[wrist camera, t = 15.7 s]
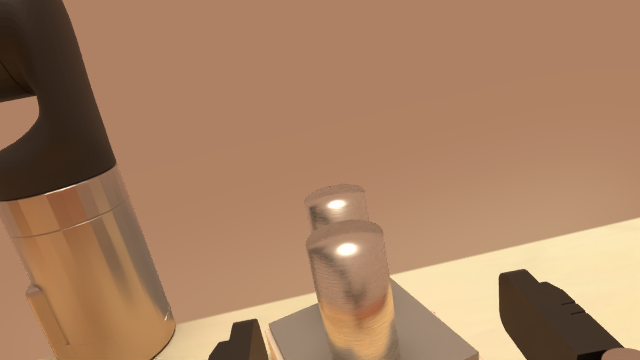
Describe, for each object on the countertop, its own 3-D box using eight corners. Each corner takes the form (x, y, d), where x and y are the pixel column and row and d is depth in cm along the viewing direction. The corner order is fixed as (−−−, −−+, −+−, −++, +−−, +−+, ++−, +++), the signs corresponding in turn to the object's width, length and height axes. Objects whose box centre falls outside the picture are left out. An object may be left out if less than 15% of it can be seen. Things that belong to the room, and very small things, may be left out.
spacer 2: (354, 416, 23) (324, 268, 20) (324, 365, 27) (295, 236, 24) (417, 382, 24) (398, 239, 21) (380, 339, 28) (359, 213, 25)
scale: (328, 487, 23) (318, 446, 22) (271, 354, 33) (262, 323, 32) (496, 388, 27) (494, 349, 25) (396, 298, 37) (392, 268, 36)
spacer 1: (342, 337, 29) (318, 215, 26) (319, 306, 33) (296, 196, 30) (393, 314, 30) (376, 195, 27) (365, 286, 34) (347, 180, 31)
